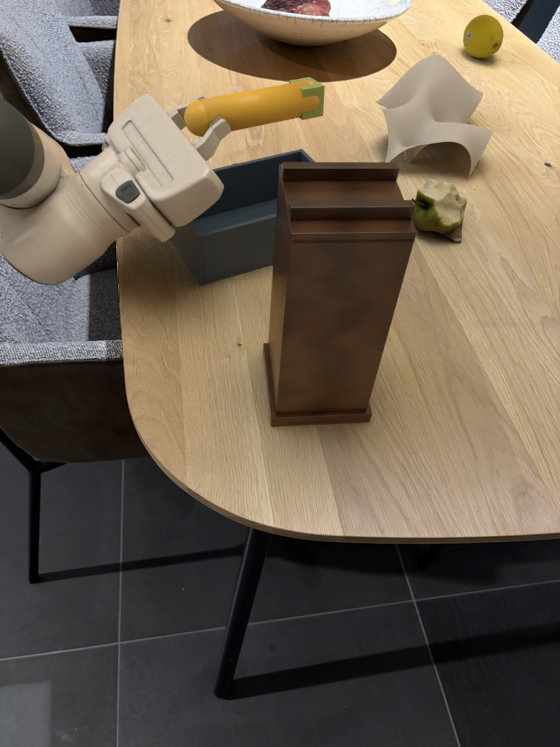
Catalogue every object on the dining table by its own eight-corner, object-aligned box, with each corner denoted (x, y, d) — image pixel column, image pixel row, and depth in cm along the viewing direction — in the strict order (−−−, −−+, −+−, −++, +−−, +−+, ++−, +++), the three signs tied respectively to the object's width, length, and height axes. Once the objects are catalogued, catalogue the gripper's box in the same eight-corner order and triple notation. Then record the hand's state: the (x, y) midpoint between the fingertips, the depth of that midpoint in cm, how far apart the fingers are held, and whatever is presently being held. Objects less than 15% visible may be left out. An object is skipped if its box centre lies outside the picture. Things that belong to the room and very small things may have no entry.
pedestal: (270, 426, 65) (286, 224, 45) (262, 351, 72) (273, 148, 52) (370, 422, 66) (428, 223, 46) (352, 348, 73) (397, 148, 53)
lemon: (454, 46, 136) (464, 6, 129) (487, 47, 136) (499, 8, 130) (466, 67, 129) (478, 26, 122) (501, 68, 129) (515, 28, 123)
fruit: (411, 252, 88) (412, 203, 83) (400, 219, 95) (401, 171, 89) (475, 244, 87) (480, 194, 82) (460, 211, 94) (464, 163, 88)
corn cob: (193, 145, 69) (190, 109, 66) (180, 132, 72) (177, 97, 69) (327, 117, 75) (329, 83, 73) (311, 107, 78) (312, 74, 75)
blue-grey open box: (199, 286, 79) (196, 237, 73) (163, 230, 86) (157, 181, 80) (342, 243, 87) (350, 196, 81) (297, 195, 94) (302, 148, 88)
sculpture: (488, 182, 99) (509, 125, 92) (374, 172, 99) (386, 114, 92) (468, 110, 116) (484, 57, 108) (370, 101, 116) (379, 47, 108)
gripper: (113, 161, 79) (195, 93, 78) (170, 251, 68) (267, 174, 67) (81, 125, 74) (169, 53, 73) (138, 216, 63) (242, 132, 62)
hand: (216, 111), depth 70 cm, fingers closed on corn cob, 4 cm apart
